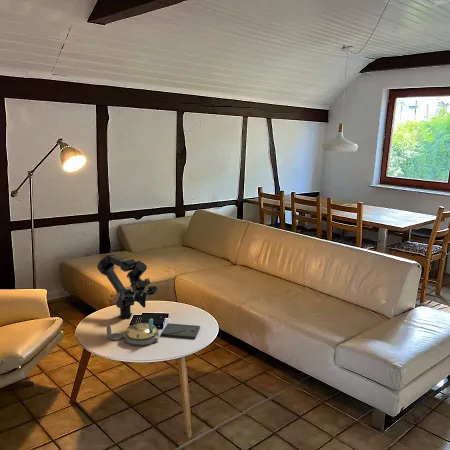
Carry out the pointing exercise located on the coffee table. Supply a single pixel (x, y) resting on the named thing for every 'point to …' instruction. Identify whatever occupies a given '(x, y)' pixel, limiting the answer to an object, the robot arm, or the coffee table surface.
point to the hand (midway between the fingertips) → (144, 307)
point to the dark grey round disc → (141, 343)
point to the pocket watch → (113, 336)
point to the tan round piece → (141, 331)
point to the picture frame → (180, 331)
